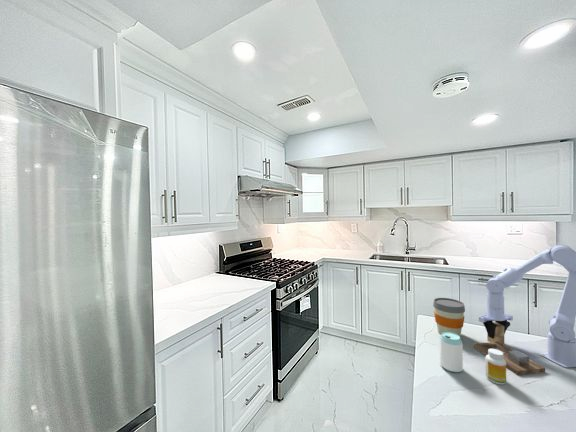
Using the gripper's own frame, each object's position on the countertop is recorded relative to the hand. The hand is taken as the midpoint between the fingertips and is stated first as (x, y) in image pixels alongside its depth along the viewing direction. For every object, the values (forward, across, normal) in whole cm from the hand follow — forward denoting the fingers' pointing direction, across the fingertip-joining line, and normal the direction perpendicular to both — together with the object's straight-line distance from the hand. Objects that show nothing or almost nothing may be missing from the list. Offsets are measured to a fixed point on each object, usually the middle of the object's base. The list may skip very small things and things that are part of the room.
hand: (495, 337), depth 107 cm
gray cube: (+2, +7, +16) cm, 17 cm away
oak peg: (+2, 0, 0) cm, 2 cm away
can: (+3, +32, +13) cm, 35 cm away
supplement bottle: (+3, +22, +21) cm, 31 cm away
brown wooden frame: (+2, +7, +11) cm, 13 cm away
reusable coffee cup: (+3, +14, -10) cm, 17 cm away
